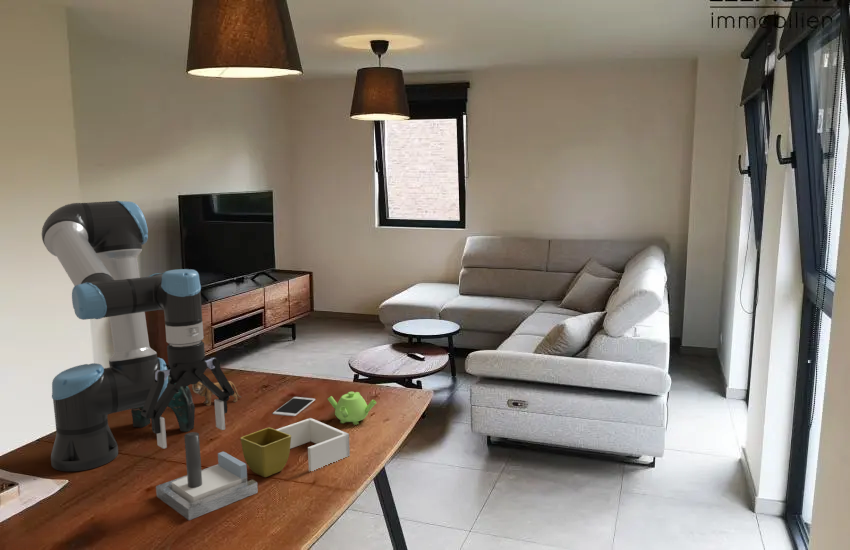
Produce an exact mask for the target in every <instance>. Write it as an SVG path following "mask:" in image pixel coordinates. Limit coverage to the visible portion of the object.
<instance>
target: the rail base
mask: <svg viewBox="0 0 850 550" xmlns="http://www.w3.org/2000/svg"><path fill="white" fill-rule="evenodd" d="M215 466H218V463H217V464H214V465H211V466H208V467H206V468H204V469H201V471H204V470H207V469H210V468H213V467H215ZM184 477H187V474H186V475H183V476H179V477H177V478H176V479H172V480H169V481H167V482H164V483H163V482H162V483H161V484H157V485H156V486H155V493H156V497H157V498H158V499H159V500H160V501H162V502H163V503H165V504H166V505H168V507H170V508H171V509H172V510H174V511H175V512H177V513H178V514H180V515H181V516H182V517H184V519H186V520H188V521H191V520H193V519H196V518H198V517H201V516H203V515H206V514H208V513H211V512H213V511H216V510H219V509H221V508H224V507H226V506H228V505H231V504H234V503H235V502H237V501H238V502H239V501H241V500H242V499H243V500H244V499H246V498H248V497H250V496H251V497H252V496H253V495H256V494H258V491H259V489H258V481H256V480H255V479H250V480H247V482H245V483H242V484H239V485H237V486H234V487H232V488H229V489H226V490H224V491H221V492H219V493H216V494H214V495H211V496H208V497H206V498H203V499H201V500H198V501H195V502H193V503H189V502H188V501H186V500H185V499H183V498H182V497H180V496H179V495H178V494H176V493H175V492H173V491H172V482H173V481H176V480H179V479H182V478H184Z"/></svg>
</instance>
